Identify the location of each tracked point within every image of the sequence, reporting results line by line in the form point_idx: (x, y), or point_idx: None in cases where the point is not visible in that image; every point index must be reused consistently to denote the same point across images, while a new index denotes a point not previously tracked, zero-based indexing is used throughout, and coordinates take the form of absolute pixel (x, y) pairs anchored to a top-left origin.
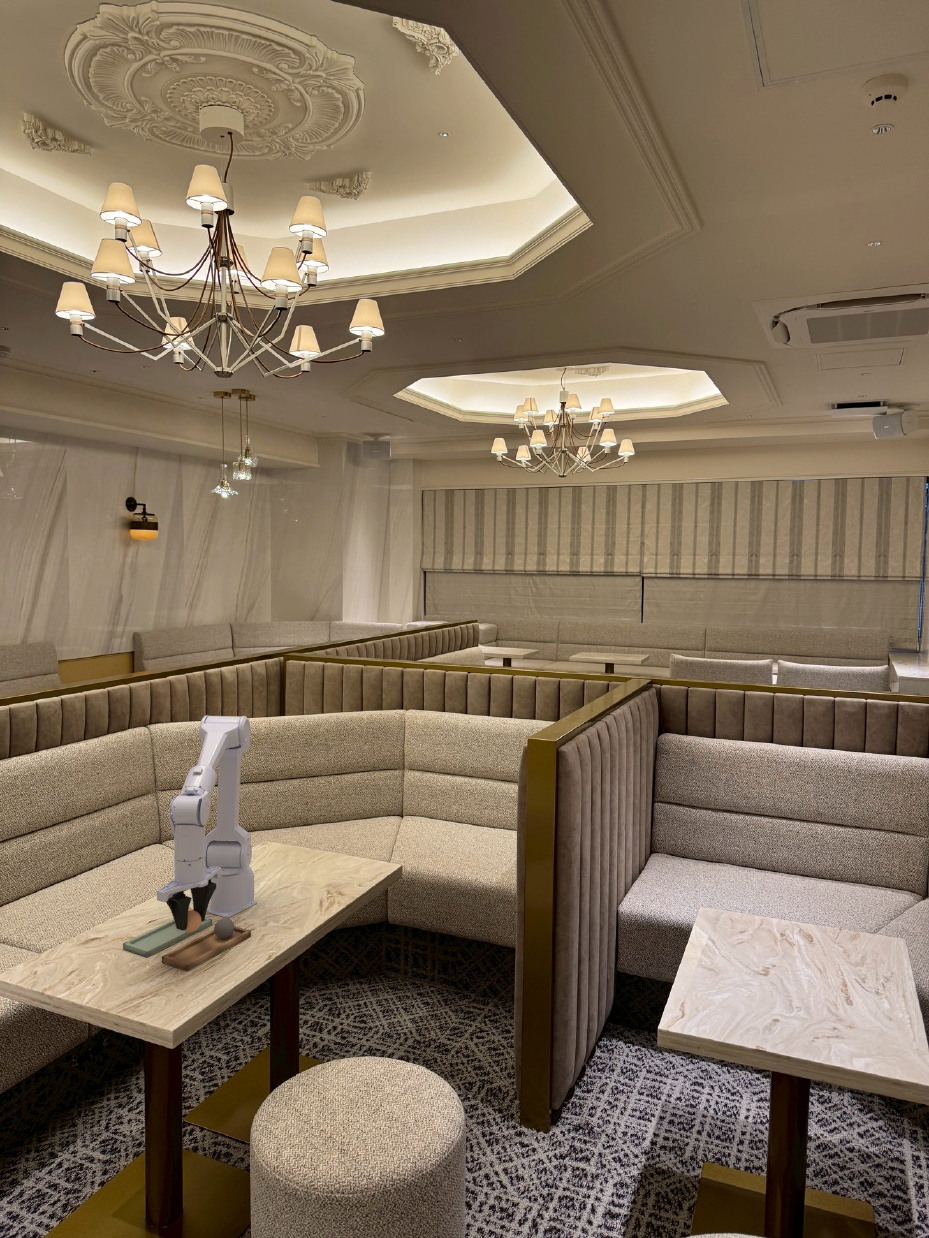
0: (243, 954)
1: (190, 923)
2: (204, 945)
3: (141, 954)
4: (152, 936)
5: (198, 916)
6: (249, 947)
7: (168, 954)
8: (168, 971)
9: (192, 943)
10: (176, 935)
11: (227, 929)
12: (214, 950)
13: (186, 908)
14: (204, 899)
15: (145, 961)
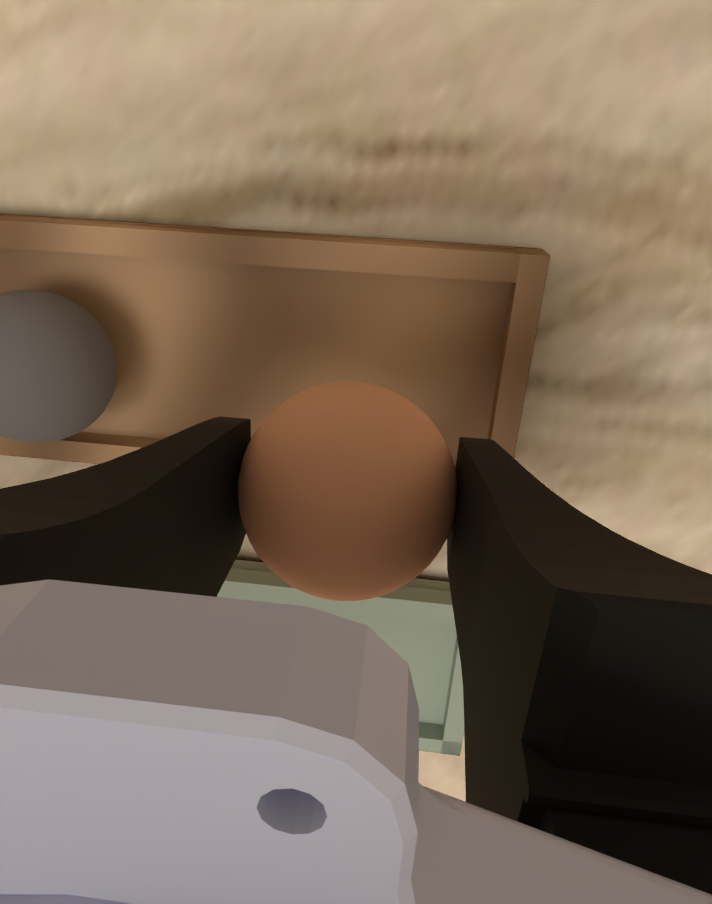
0: (135, 52)
1: (427, 435)
2: (227, 387)
3: None
4: None
5: (310, 434)
6: (34, 97)
7: None
8: (572, 374)
9: None
10: (251, 596)
11: (47, 307)
12: (273, 238)
13: (568, 537)
14: (137, 522)
15: None
